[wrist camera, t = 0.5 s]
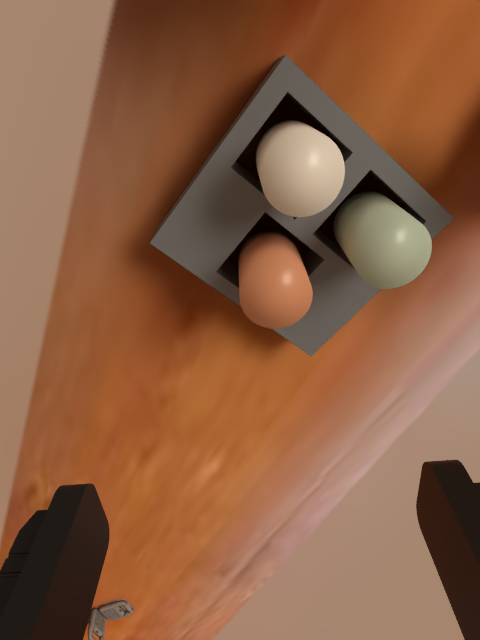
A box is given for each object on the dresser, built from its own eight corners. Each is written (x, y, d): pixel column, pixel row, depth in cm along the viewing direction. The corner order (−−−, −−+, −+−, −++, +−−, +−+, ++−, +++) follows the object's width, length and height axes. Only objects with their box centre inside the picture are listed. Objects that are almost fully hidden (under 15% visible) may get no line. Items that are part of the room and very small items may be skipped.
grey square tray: (279, 58, 28) (285, 54, 25) (430, 203, 33) (454, 218, 29) (158, 225, 33) (149, 243, 30) (304, 330, 38) (311, 356, 34)
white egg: (286, 104, 27) (299, 110, 21) (338, 151, 28) (362, 168, 23) (241, 163, 28) (243, 182, 23) (292, 205, 30) (305, 233, 24)
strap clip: (124, 595, 57) (117, 630, 54) (135, 607, 59) (129, 642, 55) (68, 609, 59) (57, 645, 55) (80, 621, 60) (70, 656, 56)
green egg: (366, 177, 29) (396, 199, 24) (410, 218, 30) (448, 247, 25) (320, 228, 30) (338, 260, 25) (364, 265, 32) (390, 302, 27)
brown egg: (265, 218, 30) (272, 247, 25) (311, 255, 31) (327, 291, 26) (226, 265, 32) (224, 302, 26) (272, 299, 33) (279, 340, 28)
